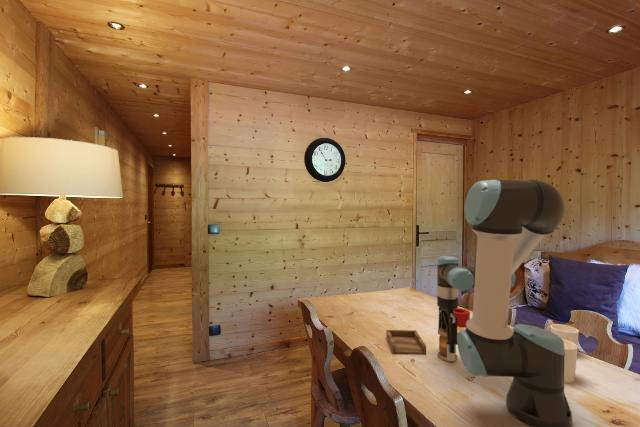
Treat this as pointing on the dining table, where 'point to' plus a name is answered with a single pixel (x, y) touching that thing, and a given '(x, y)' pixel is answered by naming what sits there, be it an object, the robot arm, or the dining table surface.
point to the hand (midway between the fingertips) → (447, 355)
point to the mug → (566, 332)
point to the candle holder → (570, 361)
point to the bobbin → (443, 345)
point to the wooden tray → (405, 342)
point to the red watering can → (461, 316)
